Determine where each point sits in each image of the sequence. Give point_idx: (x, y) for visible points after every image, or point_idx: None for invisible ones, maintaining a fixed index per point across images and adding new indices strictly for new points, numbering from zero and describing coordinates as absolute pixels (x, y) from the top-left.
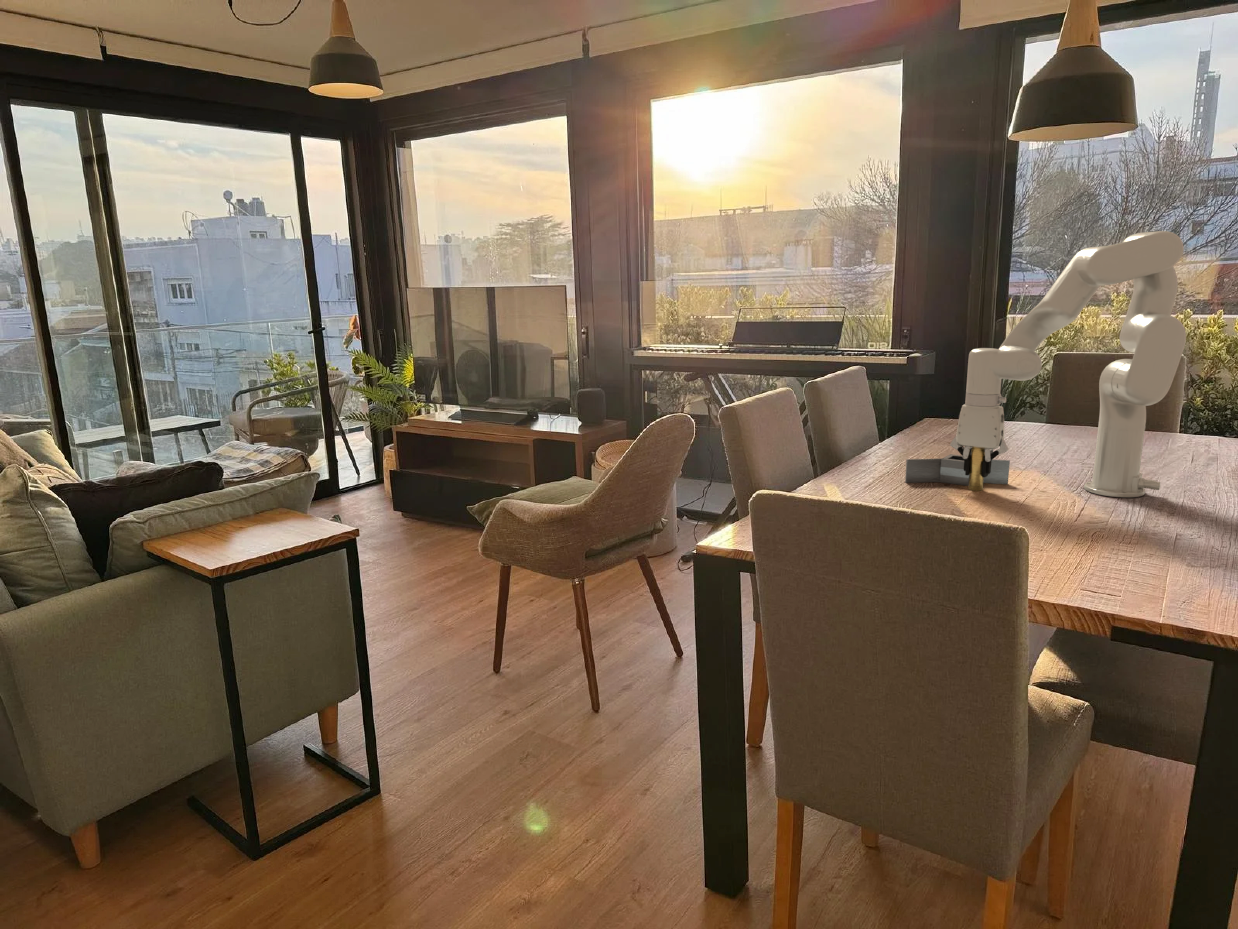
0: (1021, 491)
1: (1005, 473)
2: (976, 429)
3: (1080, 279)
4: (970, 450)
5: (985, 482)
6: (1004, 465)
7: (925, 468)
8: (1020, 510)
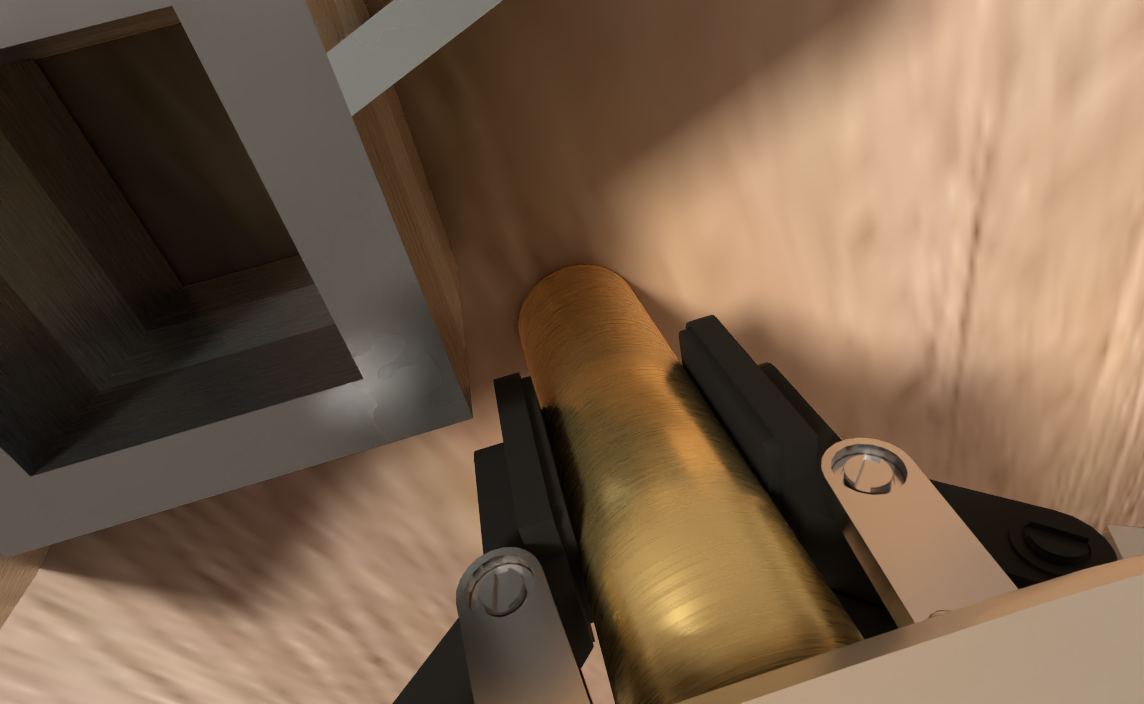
0: (921, 13)
1: None
2: None
3: None
4: (560, 679)
5: None
6: None
7: (10, 578)
8: (962, 487)
